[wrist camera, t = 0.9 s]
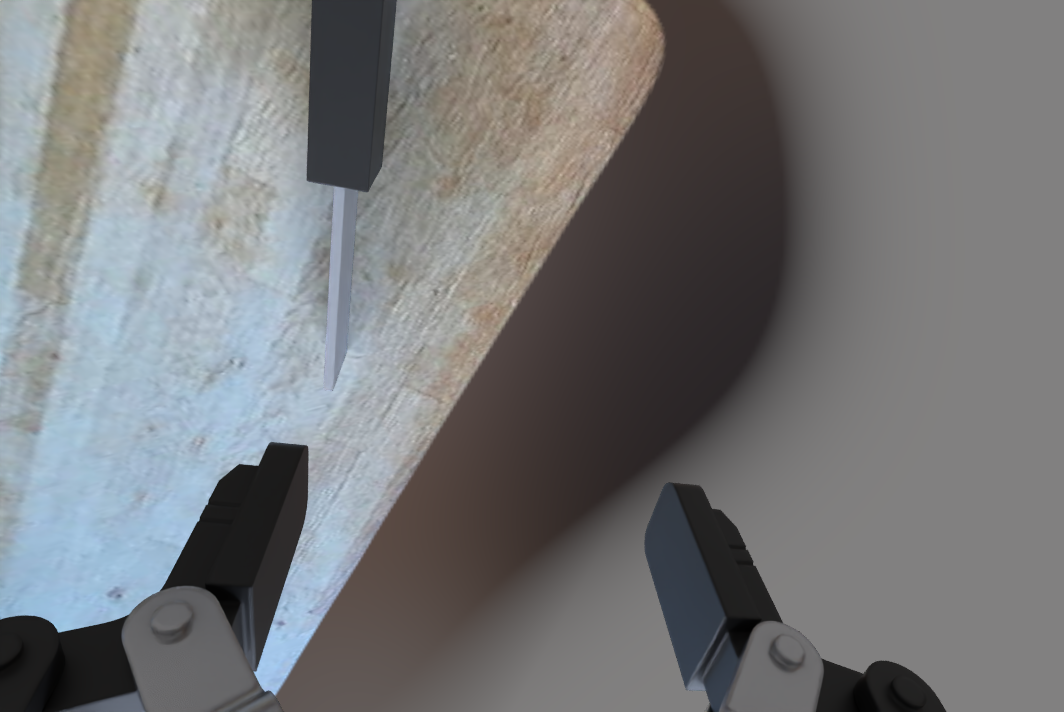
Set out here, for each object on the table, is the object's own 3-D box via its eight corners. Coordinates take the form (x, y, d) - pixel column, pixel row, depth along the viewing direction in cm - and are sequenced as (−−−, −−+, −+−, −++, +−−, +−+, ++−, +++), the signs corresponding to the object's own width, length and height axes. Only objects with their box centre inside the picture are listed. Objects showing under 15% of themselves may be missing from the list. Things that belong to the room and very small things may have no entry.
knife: (336, -32, 26) (312, -36, 22) (398, -17, 26) (385, -19, 23) (319, 349, 35) (300, 392, 31) (365, 355, 36) (351, 399, 32)
